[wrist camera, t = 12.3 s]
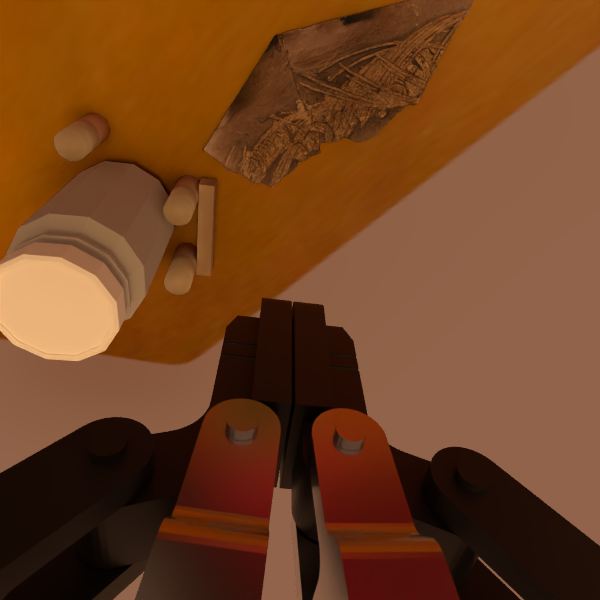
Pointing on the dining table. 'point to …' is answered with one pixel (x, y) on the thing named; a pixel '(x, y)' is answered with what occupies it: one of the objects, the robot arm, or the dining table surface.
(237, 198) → the dining table surface
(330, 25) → the wooden fragment
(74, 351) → the jar
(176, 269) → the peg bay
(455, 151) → the dining table surface
